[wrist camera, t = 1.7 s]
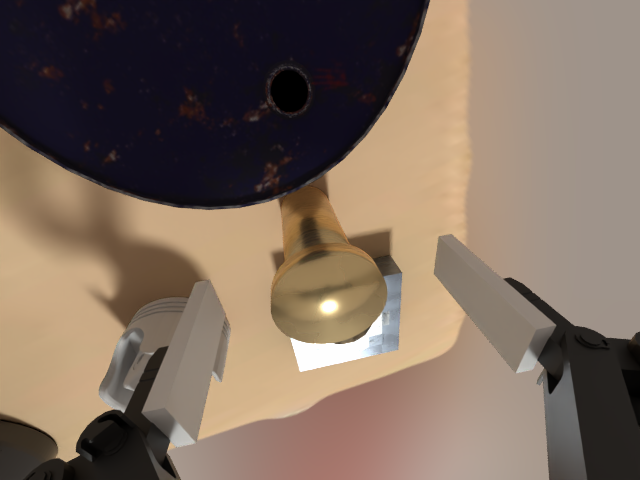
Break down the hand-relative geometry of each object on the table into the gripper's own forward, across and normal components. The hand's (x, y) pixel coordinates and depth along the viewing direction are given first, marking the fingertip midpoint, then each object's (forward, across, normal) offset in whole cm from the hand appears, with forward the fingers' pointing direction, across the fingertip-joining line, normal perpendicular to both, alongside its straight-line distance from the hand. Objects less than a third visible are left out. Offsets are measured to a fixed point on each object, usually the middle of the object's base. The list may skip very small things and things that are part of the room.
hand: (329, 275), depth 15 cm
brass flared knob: (+10, 0, 0) cm, 10 cm away
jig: (+10, +2, -13) cm, 16 cm away
